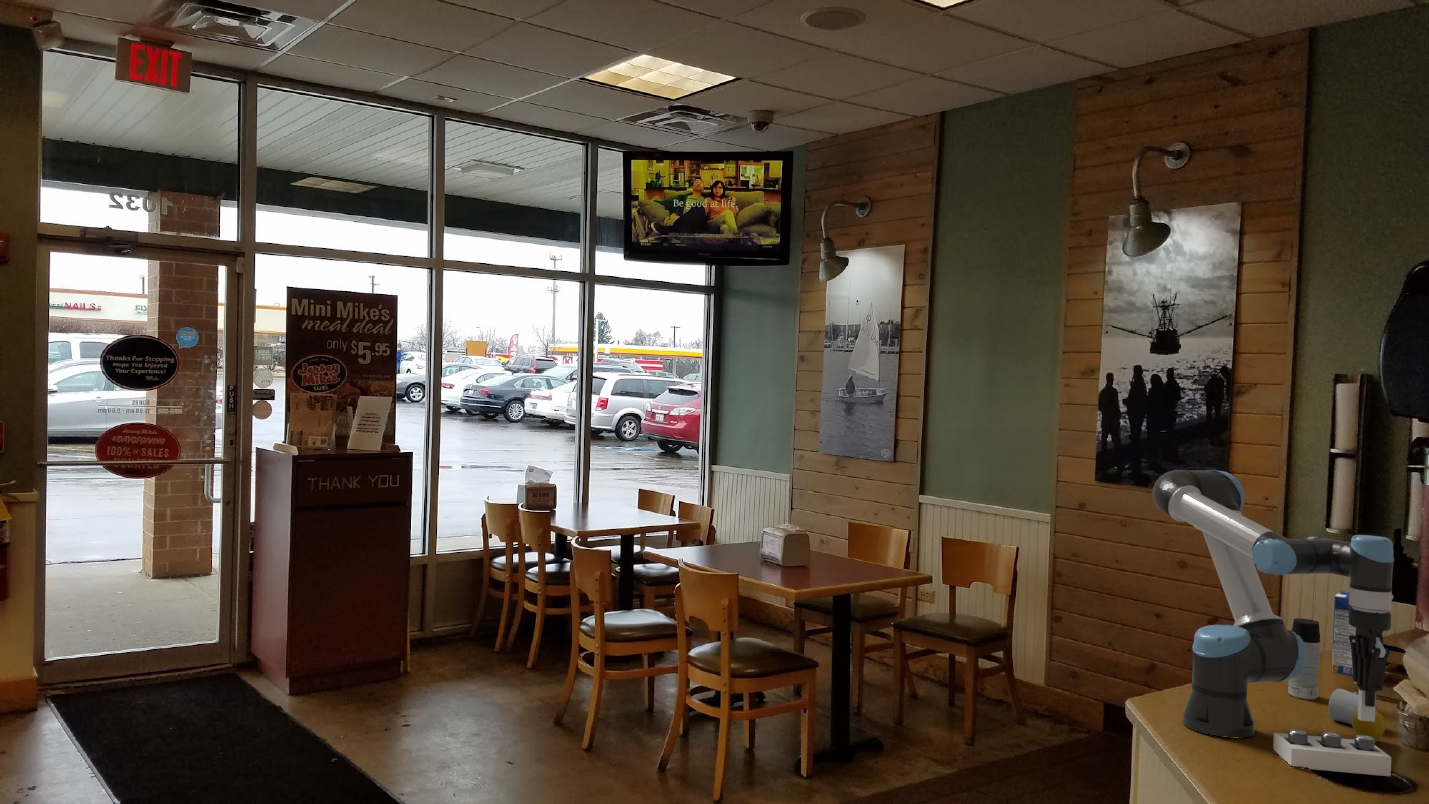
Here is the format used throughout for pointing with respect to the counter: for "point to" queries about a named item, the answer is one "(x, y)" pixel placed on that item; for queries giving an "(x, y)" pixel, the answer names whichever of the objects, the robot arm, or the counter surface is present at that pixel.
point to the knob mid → (1330, 740)
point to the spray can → (1307, 660)
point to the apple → (1369, 726)
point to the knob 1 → (1297, 737)
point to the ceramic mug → (1343, 705)
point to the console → (1333, 756)
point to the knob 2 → (1364, 743)
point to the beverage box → (1342, 636)
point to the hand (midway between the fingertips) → (1366, 719)
